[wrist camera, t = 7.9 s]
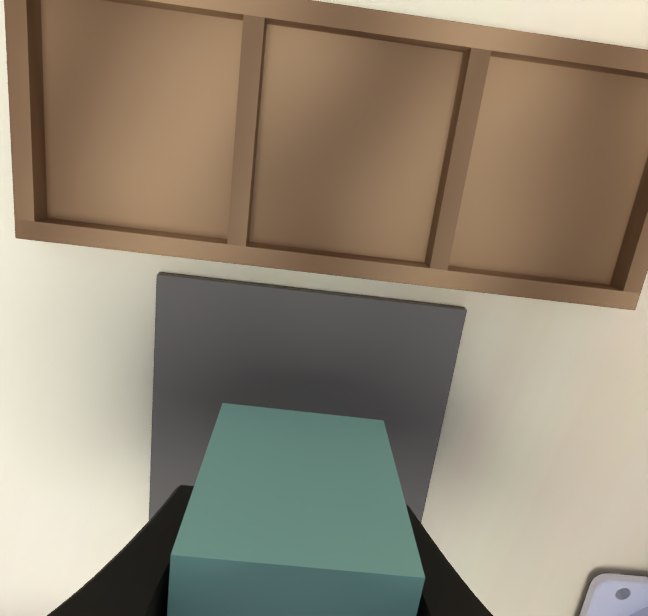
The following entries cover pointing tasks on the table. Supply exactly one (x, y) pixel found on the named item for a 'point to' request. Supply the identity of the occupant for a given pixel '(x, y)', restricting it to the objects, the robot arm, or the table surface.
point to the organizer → (333, 143)
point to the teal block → (295, 521)
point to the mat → (297, 368)
